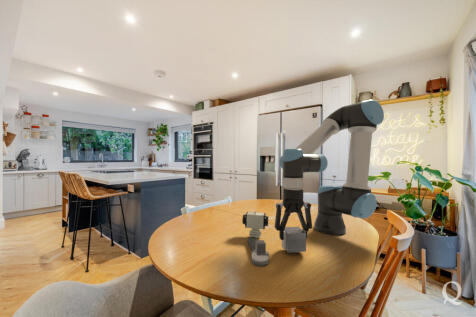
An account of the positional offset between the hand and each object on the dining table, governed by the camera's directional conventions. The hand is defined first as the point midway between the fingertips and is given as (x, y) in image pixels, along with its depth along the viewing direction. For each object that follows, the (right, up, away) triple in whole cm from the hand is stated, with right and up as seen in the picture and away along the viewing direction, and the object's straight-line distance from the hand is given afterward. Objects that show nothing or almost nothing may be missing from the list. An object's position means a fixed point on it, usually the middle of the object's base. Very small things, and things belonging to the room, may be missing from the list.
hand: (293, 247), depth 78 cm
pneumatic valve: (-14, -2, +15) cm, 21 cm away
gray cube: (0, 0, 0) cm, 0 cm away
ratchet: (-15, -2, -1) cm, 15 cm away
